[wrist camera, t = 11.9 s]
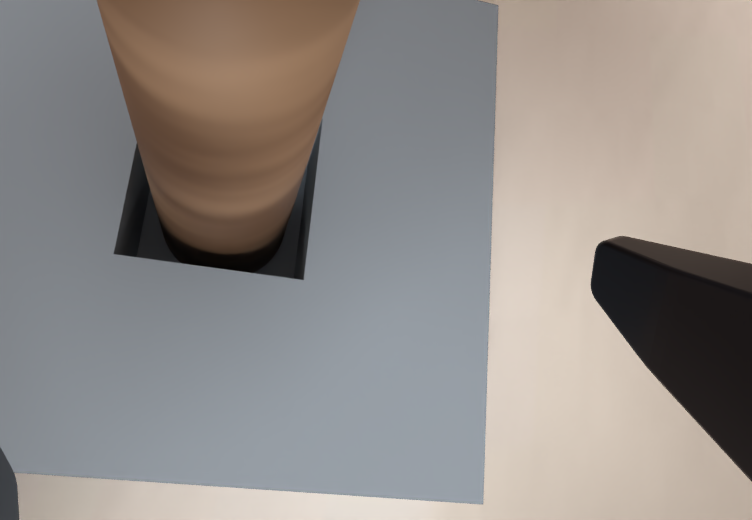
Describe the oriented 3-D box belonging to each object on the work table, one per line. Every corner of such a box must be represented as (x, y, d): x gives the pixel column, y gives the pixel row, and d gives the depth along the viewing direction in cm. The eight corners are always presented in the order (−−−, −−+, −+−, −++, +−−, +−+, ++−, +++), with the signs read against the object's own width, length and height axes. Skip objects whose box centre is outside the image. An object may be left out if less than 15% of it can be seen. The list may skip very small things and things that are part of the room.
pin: (309, 231, 22) (426, -35, 9) (214, 304, 20) (206, 105, 8) (234, 143, 22) (252, -229, 10) (135, 210, 20) (8, -126, 8)
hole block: (430, 490, 21) (483, 504, 17) (-103, 452, 18) (-202, 458, 14) (452, 75, 26) (498, 5, 22) (30, -14, 23) (-15, -118, 18)
